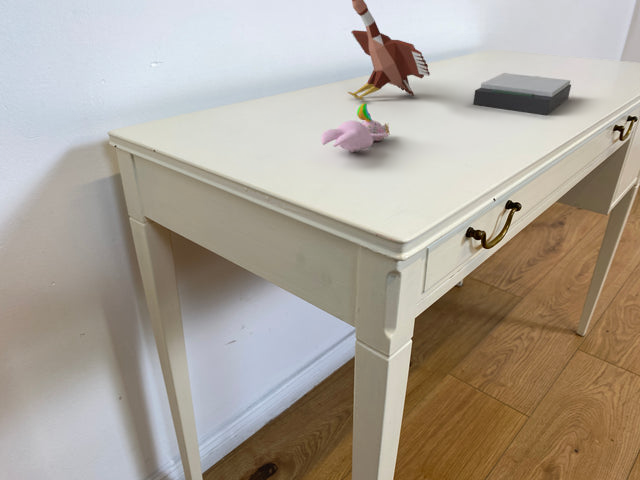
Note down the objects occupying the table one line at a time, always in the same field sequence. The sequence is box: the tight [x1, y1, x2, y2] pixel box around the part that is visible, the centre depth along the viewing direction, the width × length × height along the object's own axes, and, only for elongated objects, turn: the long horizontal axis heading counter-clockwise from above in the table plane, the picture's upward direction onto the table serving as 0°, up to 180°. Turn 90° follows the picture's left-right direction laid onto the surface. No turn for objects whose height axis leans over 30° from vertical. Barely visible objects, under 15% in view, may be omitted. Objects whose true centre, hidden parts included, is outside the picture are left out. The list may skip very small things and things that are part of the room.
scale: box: [472, 72, 572, 116], centre depth 86 cm, size 14×12×3 cm
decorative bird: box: [347, 0, 431, 101], centre depth 86 cm, size 28×18×15 cm, turn 18°
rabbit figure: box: [320, 102, 391, 153], centre depth 63 cm, size 6×6×15 cm
